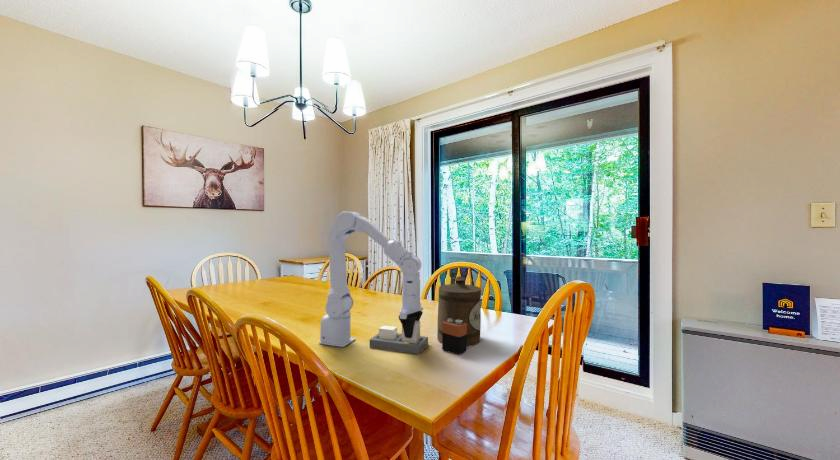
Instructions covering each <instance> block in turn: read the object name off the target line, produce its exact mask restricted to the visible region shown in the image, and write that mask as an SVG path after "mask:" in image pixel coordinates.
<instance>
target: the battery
mask: <svg viewBox="0 0 840 460" xmlns="http://www.w3.org/2000/svg"><path fill="white" fill-rule="evenodd" d="M441 349H442V350H443V351H445V352H448V353H451V354H454V355H458V356H459V355H462V354H464V353H466V352H467V324H466V323H464V322H462V320H452V318H448V320H447V321H444V322H443V326H442V343H441Z"/></svg>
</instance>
